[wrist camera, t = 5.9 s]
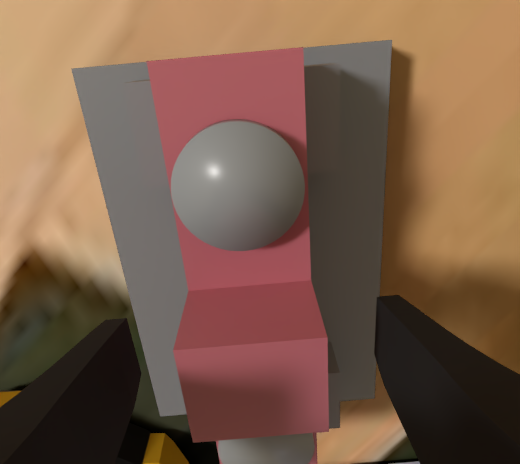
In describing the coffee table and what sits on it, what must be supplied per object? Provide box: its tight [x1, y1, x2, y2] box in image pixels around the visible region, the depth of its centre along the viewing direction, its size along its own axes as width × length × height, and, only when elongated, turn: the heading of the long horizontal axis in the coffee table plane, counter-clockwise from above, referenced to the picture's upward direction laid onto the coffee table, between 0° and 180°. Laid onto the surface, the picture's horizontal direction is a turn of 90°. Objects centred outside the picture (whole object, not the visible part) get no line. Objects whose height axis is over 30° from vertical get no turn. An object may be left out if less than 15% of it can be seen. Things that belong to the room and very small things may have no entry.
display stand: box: [72, 40, 392, 429], centre depth 15 cm, size 15×10×3 cm, turn 5°
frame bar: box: [147, 47, 329, 464], centre depth 11 cm, size 15×4×4 cm, turn 5°
